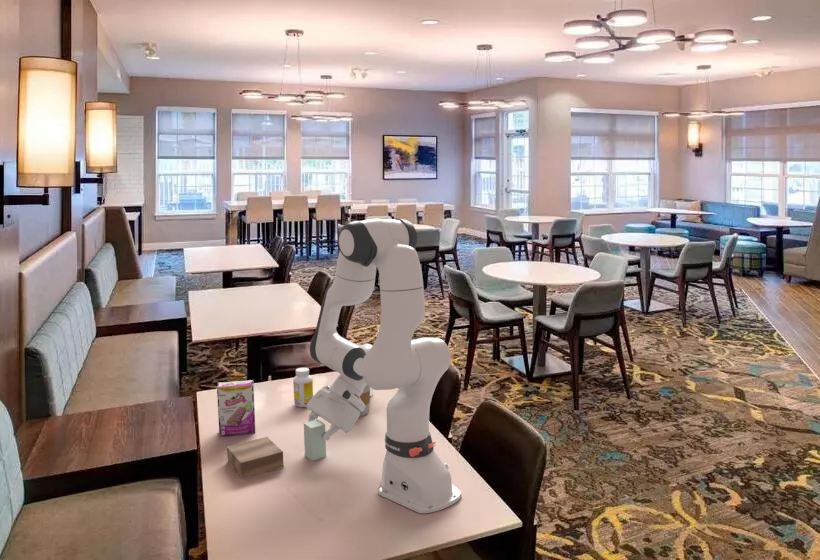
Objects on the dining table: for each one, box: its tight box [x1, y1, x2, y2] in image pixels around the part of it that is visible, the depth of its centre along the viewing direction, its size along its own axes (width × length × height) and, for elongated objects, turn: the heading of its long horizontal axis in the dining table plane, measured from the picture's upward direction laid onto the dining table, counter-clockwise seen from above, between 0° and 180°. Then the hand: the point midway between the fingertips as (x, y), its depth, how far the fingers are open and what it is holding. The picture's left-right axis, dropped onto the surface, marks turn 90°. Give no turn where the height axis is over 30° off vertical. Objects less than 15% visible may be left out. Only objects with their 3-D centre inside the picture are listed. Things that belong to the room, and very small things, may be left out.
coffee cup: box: [359, 385, 371, 417], centre depth 216 cm, size 8×8×15 cm
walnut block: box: [226, 436, 285, 479], centre depth 180 cm, size 12×12×5 cm
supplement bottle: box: [292, 367, 314, 408], centre depth 224 cm, size 7×7×13 cm
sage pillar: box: [303, 418, 327, 462], centre depth 184 cm, size 4×4×10 cm
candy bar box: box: [216, 379, 256, 437], centre depth 200 cm, size 11×5×16 cm, turn 104°
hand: (315, 433), depth 184 cm, fingers open, 8 cm apart
